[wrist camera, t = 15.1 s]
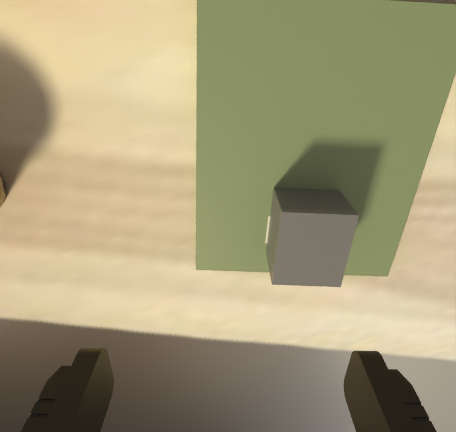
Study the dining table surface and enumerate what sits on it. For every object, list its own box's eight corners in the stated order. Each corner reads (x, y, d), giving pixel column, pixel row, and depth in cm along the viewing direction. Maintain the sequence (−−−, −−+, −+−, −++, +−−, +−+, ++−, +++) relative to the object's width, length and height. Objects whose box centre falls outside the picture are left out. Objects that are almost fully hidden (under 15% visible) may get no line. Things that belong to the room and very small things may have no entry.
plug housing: (273, 187, 30) (281, 212, 25) (339, 190, 30) (359, 215, 26) (265, 252, 33) (271, 284, 29) (325, 254, 33) (340, 287, 29)
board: (198, -9, 24) (196, -11, 23) (467, 7, 25) (478, 5, 24) (196, 262, 35) (196, 269, 34) (382, 269, 36) (387, 276, 34)
